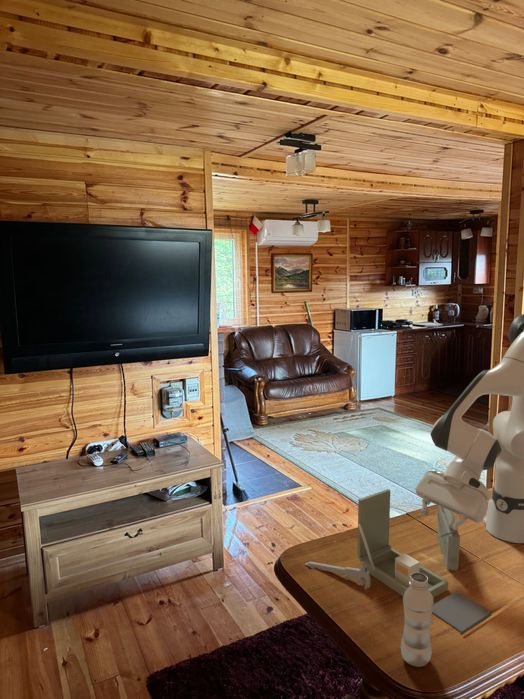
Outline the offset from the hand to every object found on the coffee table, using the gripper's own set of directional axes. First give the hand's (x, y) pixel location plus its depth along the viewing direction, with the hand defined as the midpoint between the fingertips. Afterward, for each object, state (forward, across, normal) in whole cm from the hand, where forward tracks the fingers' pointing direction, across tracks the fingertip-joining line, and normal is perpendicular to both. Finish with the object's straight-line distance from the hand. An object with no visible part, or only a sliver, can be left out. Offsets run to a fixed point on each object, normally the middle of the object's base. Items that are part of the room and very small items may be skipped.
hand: (437, 521), depth 140 cm
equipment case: (+19, -4, +4) cm, 19 cm away
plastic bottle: (+34, +17, -11) cm, 39 cm away
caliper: (+29, -15, -5) cm, 33 cm away
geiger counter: (+2, -5, +20) cm, 21 cm away
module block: (+19, -1, +2) cm, 19 cm away
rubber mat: (+18, +14, +3) cm, 24 cm away
